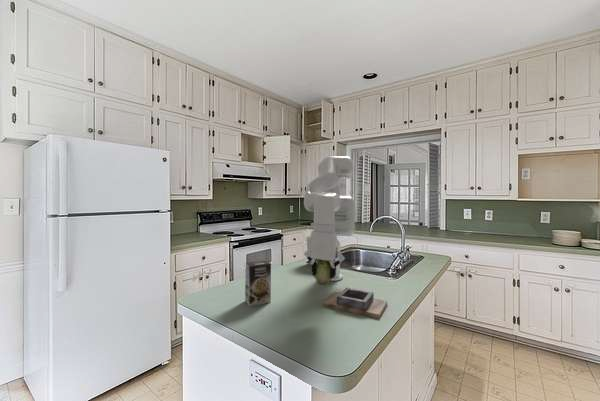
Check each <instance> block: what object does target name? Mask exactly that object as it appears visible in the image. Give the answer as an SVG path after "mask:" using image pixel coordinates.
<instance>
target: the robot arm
mask: <svg viewBox="0 0 600 401" xmlns="http://www.w3.org/2000/svg"><path fill="white" fill-rule="evenodd" d="M354 167H355V166H354V161H353V159H352V158H351V157H350V156H347V155H345V156H337V155H335V156H333V155H332V156H326V157H324V158H323V159H322V160H321V162H319V163H318V165H317V173H318V176H317V177H315V178H314V179H313V180H311V181H310V182H309V183H308V184H307V186H306V189H305V192H304V196H303V197H304V198H303V206H304V208H305V209H306V211H307V212H313V223H310V227H311V228H312V230H311V231H310V232H311V237H310V243H309V249H308V250H305V252H304V256H305V258H307V260H308V262H309V261H310V263H309V264H310V265H311V273H312V276H313V277H314V276H316V268H317V263H316V262H317V259H318V260H325V261H329V262H330V264H331V268H330V279H331V281H330V282H337V281H340V280H343V277H344V276H343V274H342V273H341V270H340V269H341V263H342V262H343V261H344V260H345V259H346V258H345V256H344V255H343V254H342V253H341V243H340V241H339V239H338V237H339V236H341V237H344V236H345V237H350V236H353V235H354V233H355V229H356V228H355V225H356V222H355V220H356V216H355V215H356V205H355V199H354V197H352V196H350V195H341V186H340V183H339V179H340V180H341V179H347V180H348V179H351V178H352V177H353V175H354ZM335 215H343V216H335Z"/></svg>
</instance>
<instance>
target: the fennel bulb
mask: <svg viewBox="0 0 600 401" xmlns="http://www.w3.org/2000/svg"><path fill="white" fill-rule="evenodd" d="M330 268H331V264H330V262H329V261H325V260H318V259H317V268H316V275H315V281H316V282H317V283H318V284H319V285H322V286H328V285H330V282H332V281H331V279H330Z"/></svg>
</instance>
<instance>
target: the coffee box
mask: <svg viewBox="0 0 600 401" xmlns="http://www.w3.org/2000/svg"><path fill="white" fill-rule="evenodd" d="M244 280H245V282H244V283H245V287H244V288H245V290H244V292H245V294H244V300H245V302H246V304H247V305H248V306H249V307H254V306H259V305H264V304H269V303H271V297H272V296H271V295H272V294H271V293H272V285H271V284H272V282H271V280H272V264H271V262H269V261H267V260H258V261H250V262H249V261H248V262H245V278H244Z"/></svg>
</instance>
